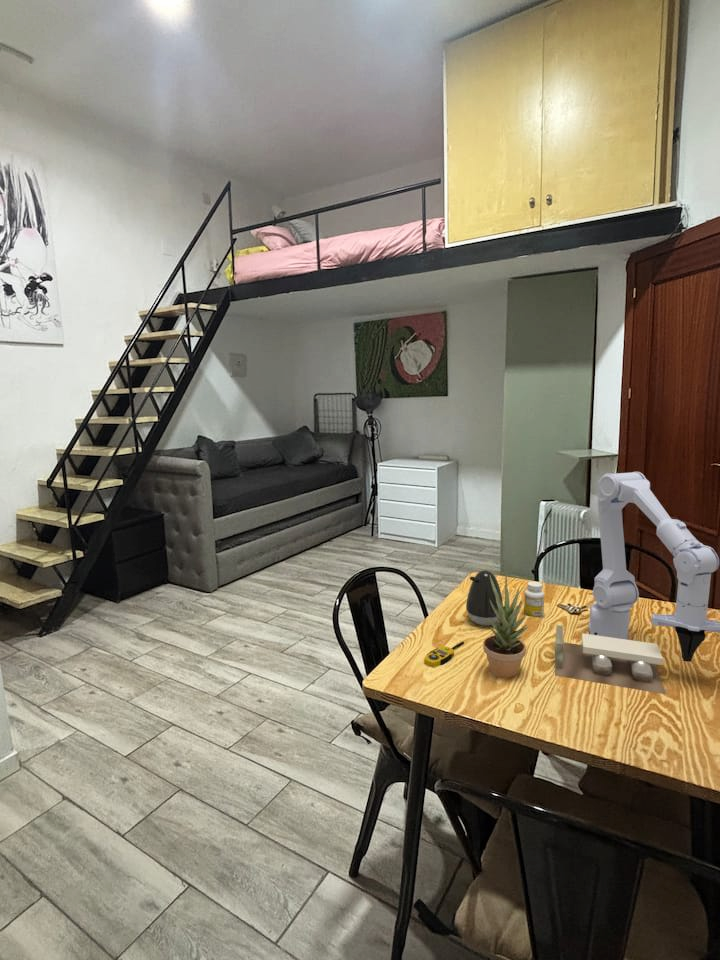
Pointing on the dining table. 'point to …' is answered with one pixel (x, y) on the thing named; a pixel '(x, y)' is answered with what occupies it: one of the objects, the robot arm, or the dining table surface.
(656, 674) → the board
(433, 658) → the yellow walkie-talkie
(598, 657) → the roller
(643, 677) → the roller
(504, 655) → the potted plant
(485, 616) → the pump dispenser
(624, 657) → the slab
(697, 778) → the dining table surface
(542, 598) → the supplement bottle
